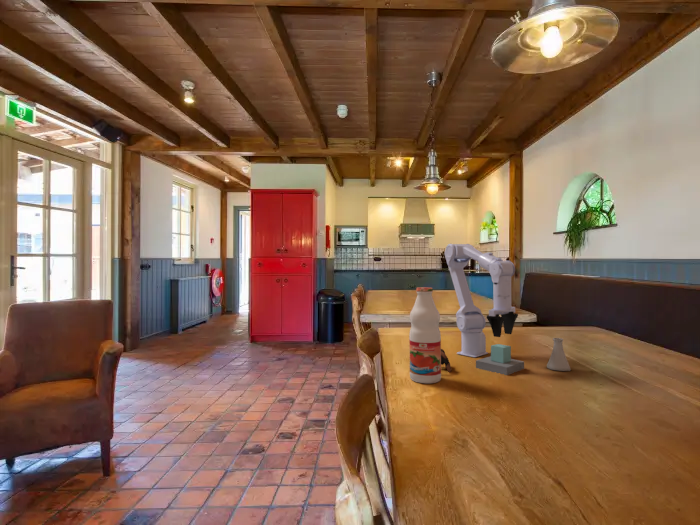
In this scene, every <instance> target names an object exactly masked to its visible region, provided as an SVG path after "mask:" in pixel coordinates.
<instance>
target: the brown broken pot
mask: <svg viewBox="0 0 700 525" xmlns="http://www.w3.org/2000/svg"><path fill="white" fill-rule="evenodd" d="M441 366H444V367H445V369H447V373H448V372H450V373H451V372H452V367H451V363H450V361H449V358H448V355H447V354H446V352H445V350H444V349H443V348H441Z"/></svg>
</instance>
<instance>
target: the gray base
mask: <svg viewBox="0 0 700 525" xmlns="http://www.w3.org/2000/svg"><path fill="white" fill-rule="evenodd" d="M475 368H476V369H480V370H483V371H487V372H491V373H495V372H496V374H499V373H500V375H503V374H504V376H509V375H512V374H514V372H515V373H518V372H520V371H523V370H525V361H523V360H519V359H514V358H511V361H510V362H506V363H500V362H496V361H492V360H491V355H490V356H487V357H486V356H485V357H484V358H479V359H477V360H475ZM522 369H523V370H522Z"/></svg>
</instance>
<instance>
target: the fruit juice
mask: <svg viewBox="0 0 700 525" xmlns="http://www.w3.org/2000/svg"><path fill="white" fill-rule="evenodd" d="M415 291H416V294H417V296H416V297H415V302H414V304H413V306H412V308H411V310H410V312H409V323H410V324H411V327H410V328H409V336H408V337H409V339H408V340H409V341H408V342H409V378H410V379H411V381H413V382H416V383H419V384H435V383H439V382H440V381H441V379H442V365H441V349H442V343H441V342H442V340H441V339H442V336H441V330H440V327H439V325H440V324H439V323H440V321H441V314H440V312H439V310H438V308H437V306H436V304H435V301H434V298H433V287H430V286H429V287H427V286H426V287H425V286H423V287H421V286H420V287H418V286H417V287H416V289H415Z"/></svg>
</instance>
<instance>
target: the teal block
mask: <svg viewBox="0 0 700 525" xmlns="http://www.w3.org/2000/svg"><path fill="white" fill-rule="evenodd" d="M511 354H512V346H511V345H505V344H501V343H500V344H499V343H497V344H491V345H490V356H491V360H492V361H496V362H500V363H506V362H510V361H511V359H512V355H511Z"/></svg>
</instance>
